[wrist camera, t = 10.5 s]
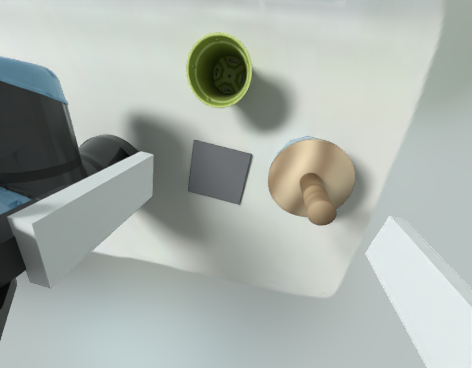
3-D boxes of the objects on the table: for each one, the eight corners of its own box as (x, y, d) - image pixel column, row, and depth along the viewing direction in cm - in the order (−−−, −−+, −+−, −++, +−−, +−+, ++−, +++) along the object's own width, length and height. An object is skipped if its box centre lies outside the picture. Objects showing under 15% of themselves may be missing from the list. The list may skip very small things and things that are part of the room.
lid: (259, 201, 40) (255, 241, 30) (281, 129, 34) (284, 148, 24) (332, 220, 40) (352, 267, 29) (367, 150, 33) (409, 179, 23)
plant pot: (208, 37, 35) (190, 24, 28) (263, 51, 35) (259, 41, 27) (200, 96, 40) (182, 99, 32) (249, 109, 39) (242, 115, 31)
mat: (188, 190, 49) (188, 191, 48) (194, 139, 43) (193, 140, 43) (239, 203, 48) (238, 204, 47) (251, 153, 42) (251, 154, 42)
